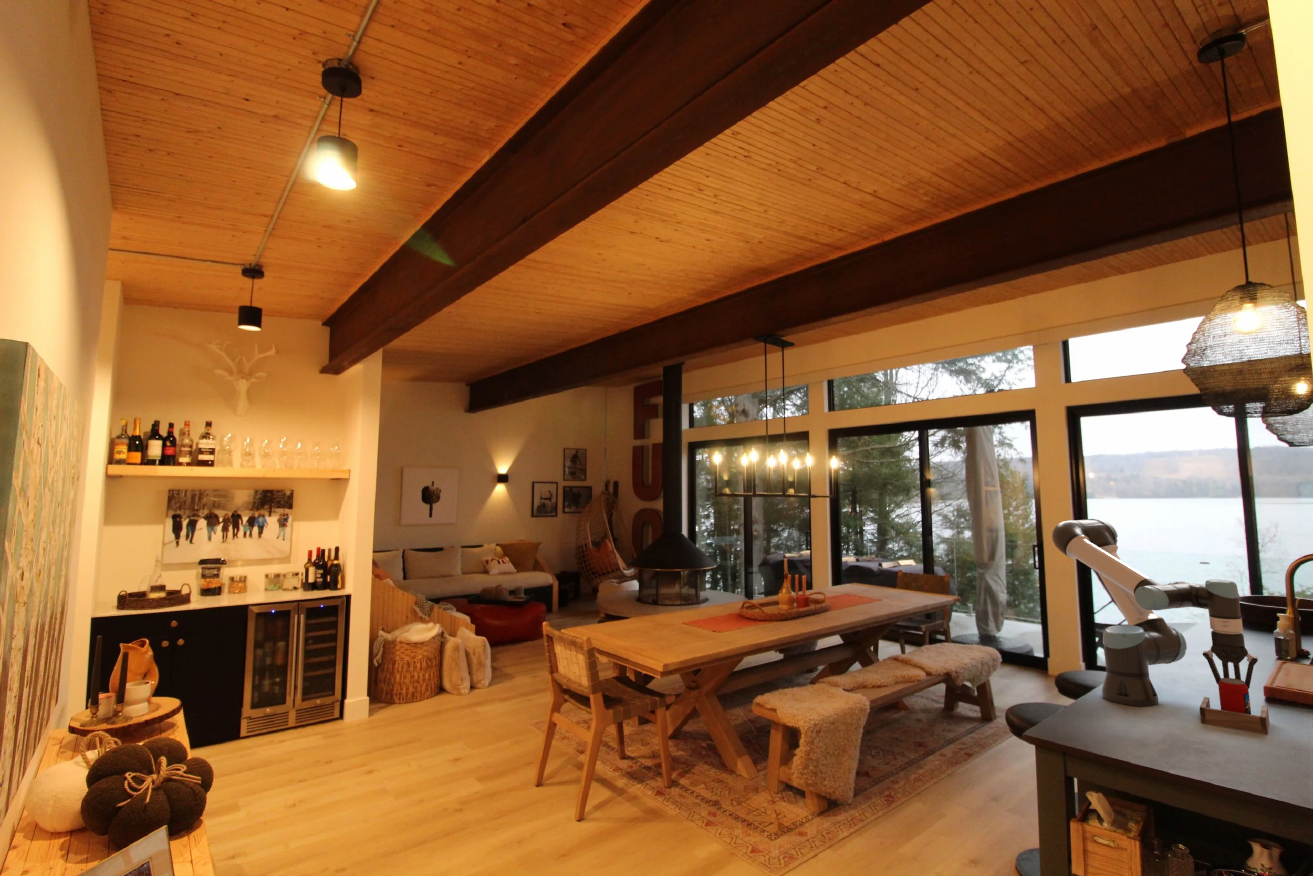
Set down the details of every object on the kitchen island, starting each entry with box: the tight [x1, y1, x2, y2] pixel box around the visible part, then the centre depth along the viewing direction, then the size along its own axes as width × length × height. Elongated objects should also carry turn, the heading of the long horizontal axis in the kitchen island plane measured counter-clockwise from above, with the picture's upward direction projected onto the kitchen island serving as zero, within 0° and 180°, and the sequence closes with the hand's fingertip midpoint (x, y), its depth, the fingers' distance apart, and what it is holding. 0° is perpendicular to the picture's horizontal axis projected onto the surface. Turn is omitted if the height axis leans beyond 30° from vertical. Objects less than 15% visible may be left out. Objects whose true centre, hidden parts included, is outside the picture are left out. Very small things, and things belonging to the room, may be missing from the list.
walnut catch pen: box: [1199, 696, 1270, 735], centre depth 190 cm, size 13×14×4 cm
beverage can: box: [1217, 677, 1252, 715], centre depth 191 cm, size 7×7×12 cm
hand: (1236, 710), depth 195 cm, fingers closed
